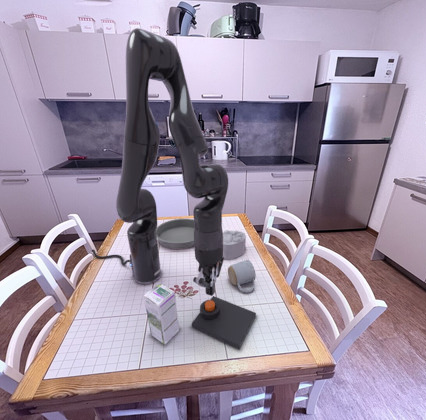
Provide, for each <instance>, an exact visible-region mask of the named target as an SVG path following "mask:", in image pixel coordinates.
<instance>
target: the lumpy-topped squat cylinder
mask: <svg viewBox="0 0 426 420" xmlns="http://www.w3.org/2000/svg"><path fill="white" fill-rule="evenodd" d="M246 241H247V235H246V234H245V232H243V231H239V230H229V229H226V230H224V231H223V257H224V260H228V261H229V260H234V259H237V258H239V257H241V256H243V255H244V254H245V252H246Z"/></svg>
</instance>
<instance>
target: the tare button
mask: <svg viewBox="0 0 426 420" xmlns="http://www.w3.org/2000/svg"><path fill="white" fill-rule="evenodd" d="M208 300H209V301H207V302H206V303H205V310H206V311H208V312H212V311H213V310H214V309H215V302H214V301H211V300H210V299H208Z"/></svg>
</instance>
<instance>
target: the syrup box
mask: <svg viewBox="0 0 426 420" xmlns="http://www.w3.org/2000/svg"><path fill="white" fill-rule="evenodd" d="M143 300H144V304H145V305H144V306H145V310H146V315H147V320H148V321H147V322H148V326H149V332H150V336H151V337H153V338H154V339H155V340H157V341H158V342H160V343H161V344H162V345H164V346H165V345H167V344H168V343H169V341H170V340H171V339H172V338H173V337H174V336H175V335H176V334H177V333H178V332H179V331H180V326H179V318H178V309H177V308H178V307H177V299H176V292H175V290H173V289H170V288H169V287H168V286H165V285H163V284H162V283H159V284H157V285H156V286H154V287H152V288H151V289H150V290H149V291H147V292H146V293H145V294H144V295H143Z"/></svg>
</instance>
